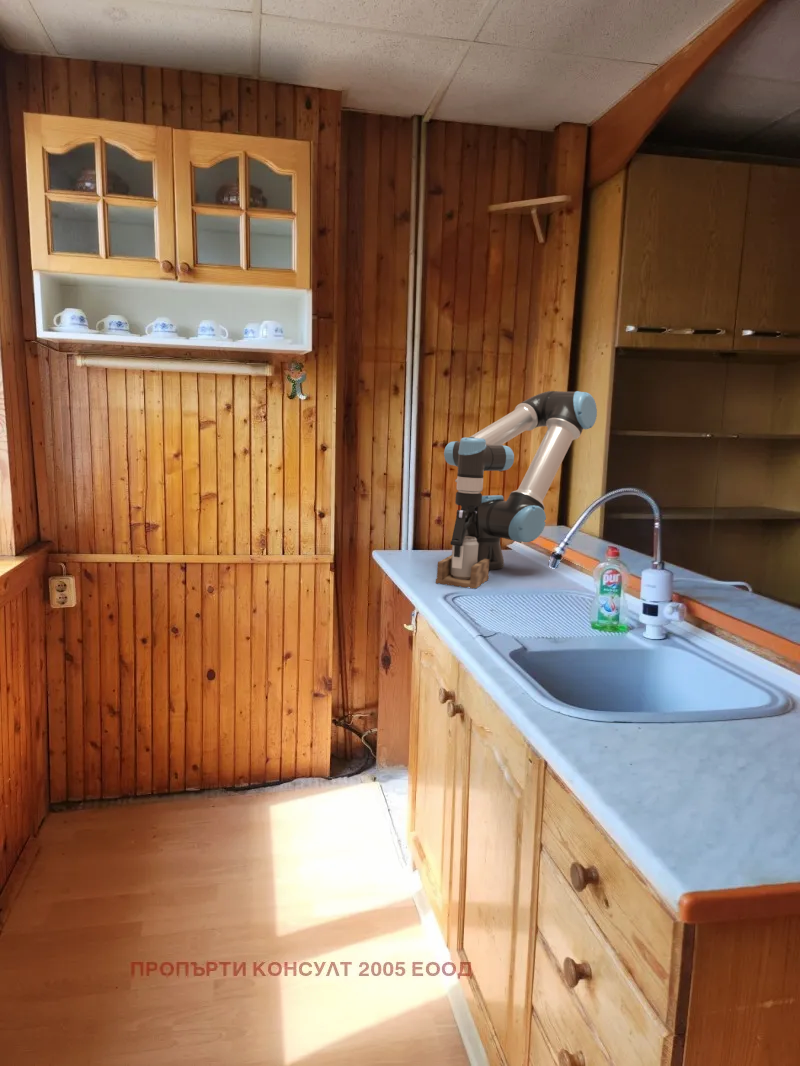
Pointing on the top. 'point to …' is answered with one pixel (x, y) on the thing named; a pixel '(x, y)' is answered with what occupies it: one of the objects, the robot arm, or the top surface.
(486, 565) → the rack
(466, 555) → the can
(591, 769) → the top surface
